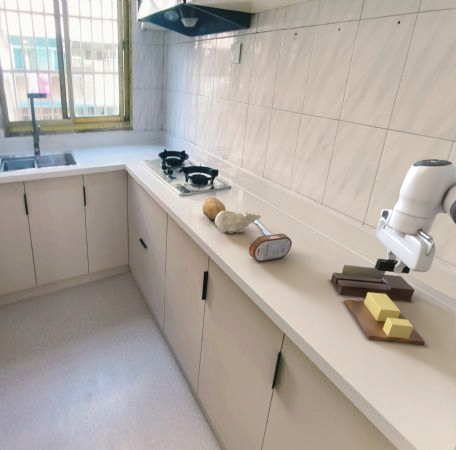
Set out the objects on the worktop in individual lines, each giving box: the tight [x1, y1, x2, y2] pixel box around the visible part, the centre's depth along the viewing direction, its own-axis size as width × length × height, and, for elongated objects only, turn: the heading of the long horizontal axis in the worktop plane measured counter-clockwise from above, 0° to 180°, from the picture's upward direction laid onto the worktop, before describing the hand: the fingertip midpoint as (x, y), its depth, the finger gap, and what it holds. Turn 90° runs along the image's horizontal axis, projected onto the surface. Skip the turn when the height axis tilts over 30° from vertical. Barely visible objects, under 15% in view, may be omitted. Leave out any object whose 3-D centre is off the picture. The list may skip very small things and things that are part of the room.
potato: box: [201, 196, 227, 221], centre depth 139 cm, size 10×14×8 cm
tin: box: [248, 233, 293, 262], centre depth 109 cm, size 15×3×8 cm, turn 110°
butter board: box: [344, 299, 426, 346], centre depth 83 cm, size 12×14×1 cm
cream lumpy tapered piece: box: [214, 210, 262, 235], centre depth 129 cm, size 15×7×15 cm
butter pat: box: [383, 318, 414, 339], centre depth 78 cm, size 4×2×4 cm, turn 82°
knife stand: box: [330, 271, 415, 302], centre depth 95 cm, size 18×7×4 cm, turn 83°
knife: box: [340, 258, 411, 279], centre depth 93 cm, size 16×2×6 cm, turn 83°
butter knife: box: [247, 211, 273, 236], centre depth 137 cm, size 1×24×3 cm
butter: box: [364, 292, 401, 322], centre depth 85 cm, size 4×7×4 cm, turn 173°
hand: (393, 268), depth 92 cm, fingers closed on knife, 2 cm apart
